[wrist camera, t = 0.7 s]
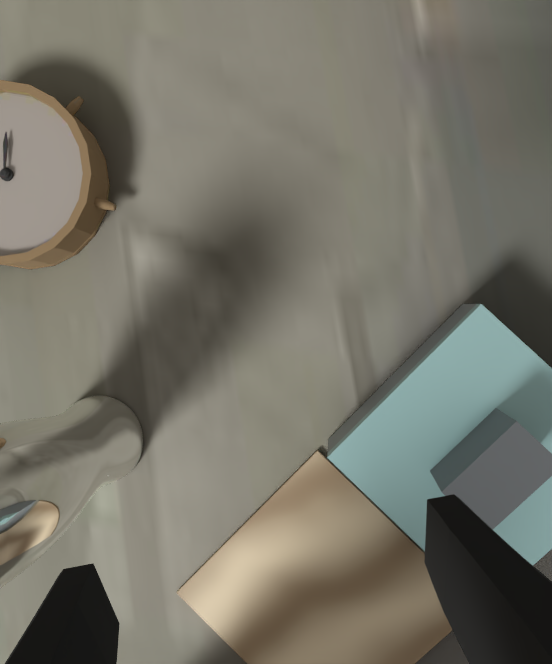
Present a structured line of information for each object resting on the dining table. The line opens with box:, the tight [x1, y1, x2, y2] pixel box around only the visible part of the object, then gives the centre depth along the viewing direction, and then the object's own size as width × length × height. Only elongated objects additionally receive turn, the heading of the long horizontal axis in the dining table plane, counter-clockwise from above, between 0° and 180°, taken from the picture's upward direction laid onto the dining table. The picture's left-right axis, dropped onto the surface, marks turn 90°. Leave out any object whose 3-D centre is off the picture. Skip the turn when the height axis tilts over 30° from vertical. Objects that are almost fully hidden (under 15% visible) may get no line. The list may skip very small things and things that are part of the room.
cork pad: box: [177, 450, 452, 664], centre depth 31 cm, size 14×14×1 cm
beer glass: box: [0, 395, 143, 589], centre depth 25 cm, size 7×7×15 cm
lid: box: [327, 304, 552, 565], centre depth 25 cm, size 12×12×4 cm
